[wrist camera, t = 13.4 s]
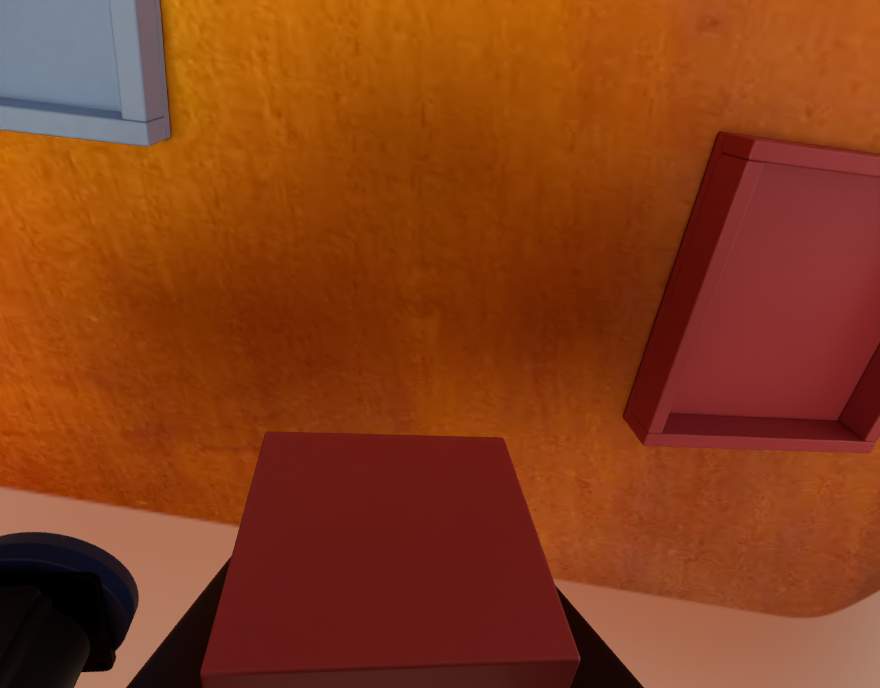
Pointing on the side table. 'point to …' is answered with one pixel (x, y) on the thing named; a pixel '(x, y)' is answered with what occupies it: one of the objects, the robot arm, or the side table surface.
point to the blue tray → (84, 70)
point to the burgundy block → (387, 571)
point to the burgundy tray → (770, 307)
